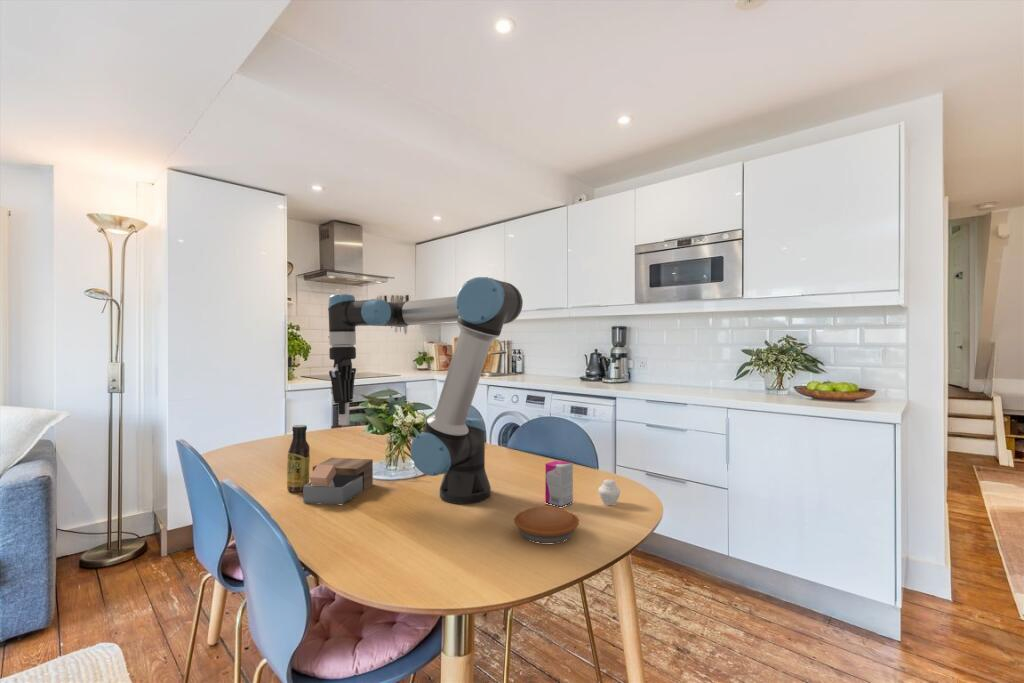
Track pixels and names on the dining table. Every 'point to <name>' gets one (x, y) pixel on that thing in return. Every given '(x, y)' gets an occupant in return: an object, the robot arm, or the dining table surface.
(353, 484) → the bin
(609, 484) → the small white jar
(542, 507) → the pie
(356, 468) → the plate
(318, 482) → the salmon pink square block
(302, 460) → the sauce bottle
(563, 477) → the supplement box
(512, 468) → the dining table surface
